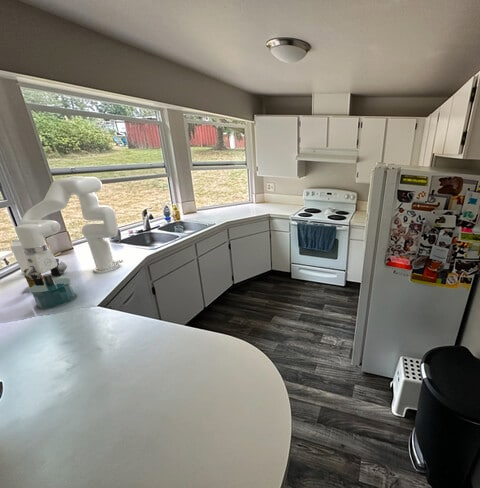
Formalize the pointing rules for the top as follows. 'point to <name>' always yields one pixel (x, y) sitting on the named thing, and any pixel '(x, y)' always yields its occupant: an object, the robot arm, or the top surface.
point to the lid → (50, 284)
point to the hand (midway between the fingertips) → (48, 280)
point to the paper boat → (61, 267)
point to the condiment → (31, 281)
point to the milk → (19, 254)
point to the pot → (54, 297)
